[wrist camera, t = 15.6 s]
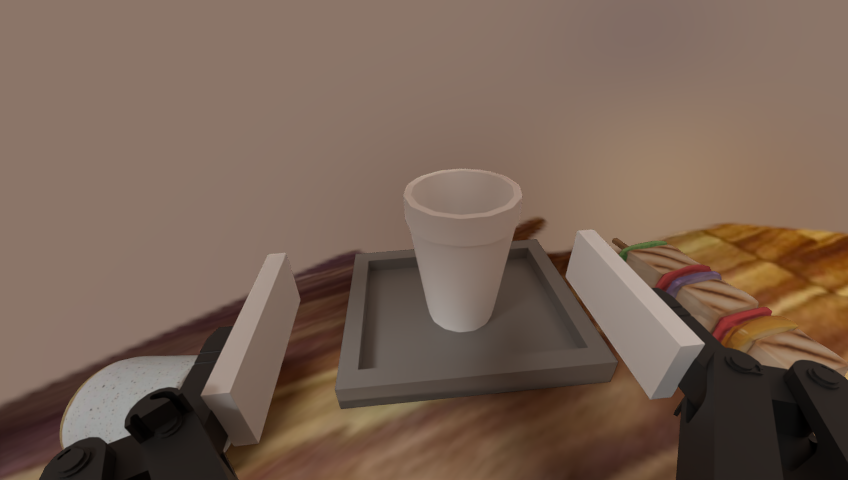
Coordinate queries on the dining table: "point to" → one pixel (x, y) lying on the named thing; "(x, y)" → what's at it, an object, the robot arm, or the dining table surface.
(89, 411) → the ceramic mug
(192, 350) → the dining table surface
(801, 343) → the skewer
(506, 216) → the foam cup
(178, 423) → the robot arm
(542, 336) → the cafeteria tray
